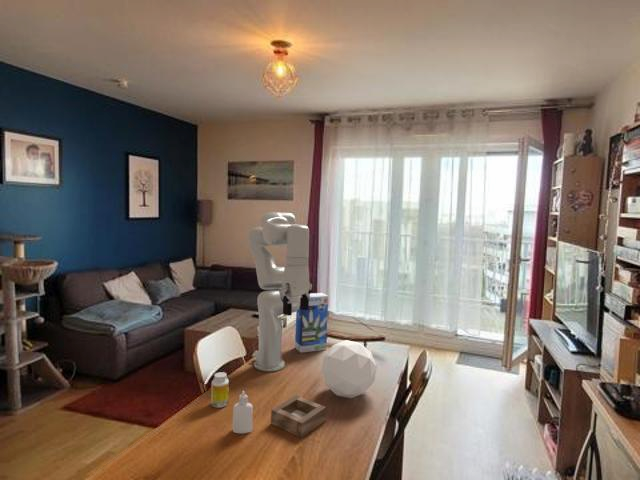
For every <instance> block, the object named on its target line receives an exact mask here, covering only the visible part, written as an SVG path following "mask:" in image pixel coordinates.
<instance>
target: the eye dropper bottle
mask: <svg viewBox="0 0 640 480" xmlns="http://www.w3.org/2000/svg"><path fill="white" fill-rule="evenodd" d="M232 408H233V410H232V432H233V433H235V434H248V433H251V432H252V431H253V415H254V414H253V412H254V411H253V409H254V408H253V404H252V403H250V402H248V395H247V394H246V392H245V391H244V390H242V392H241V394H240V395H238V402H237V403H235V404H234V405H233V407H232Z"/></svg>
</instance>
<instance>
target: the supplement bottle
mask: <svg viewBox="0 0 640 480" xmlns="http://www.w3.org/2000/svg"><path fill="white" fill-rule="evenodd" d="M213 376H214V377H213V380H212V381H211V386H210V387H211V389H210V390H211V391H210V392H211V393H210V394H211V397H210V402H211V403H210V404H211V406H212V407H214V408H217V409H220V408H225V407H226V406H228V404H229V399H230V398H229V397H230V395H229V392H230V390H229V387H230V386H229V385H230V384H229V383H230V381H229V379H228V375H227V373H226V372H224V371H222V372H220V371H219V372H216V373H214V375H213Z"/></svg>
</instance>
